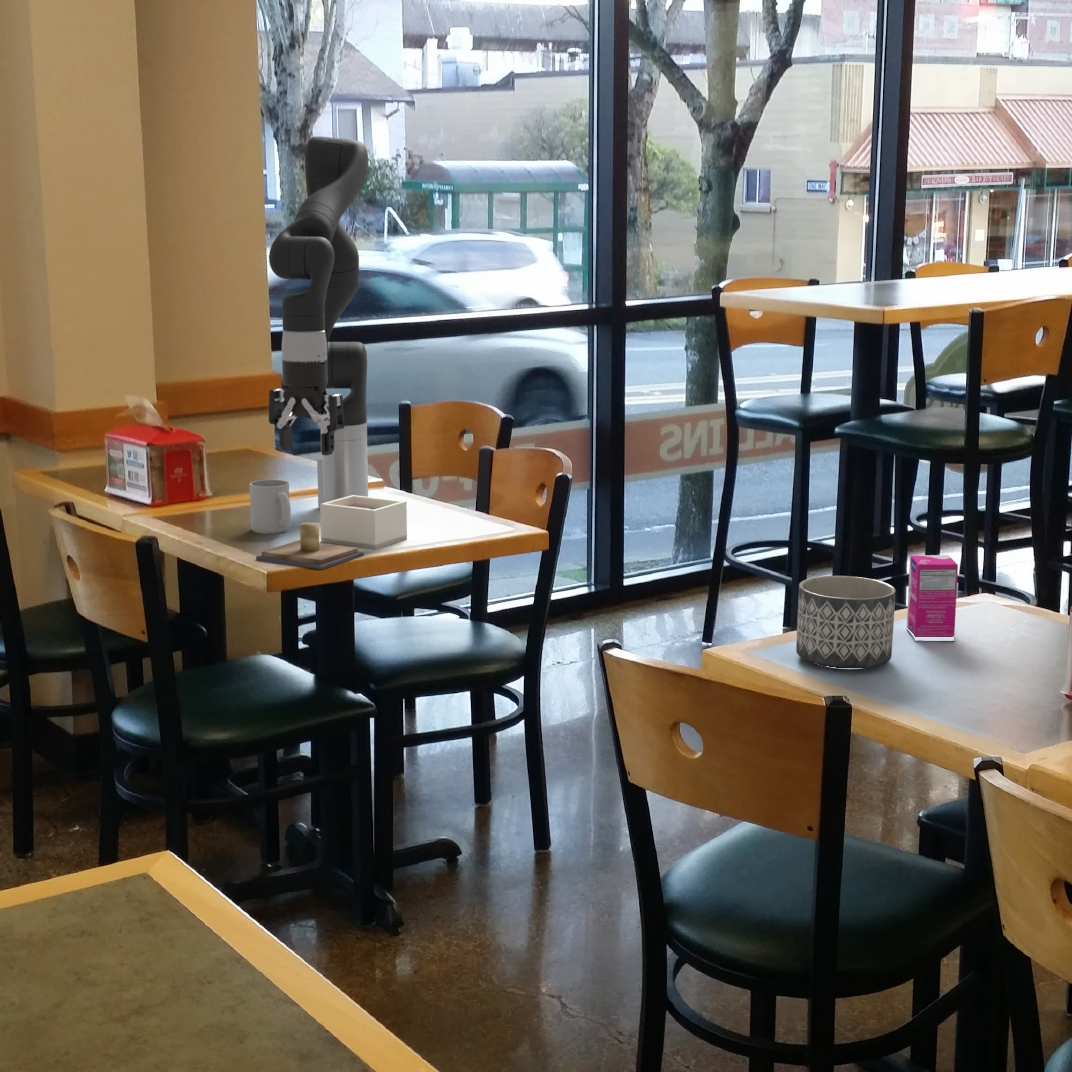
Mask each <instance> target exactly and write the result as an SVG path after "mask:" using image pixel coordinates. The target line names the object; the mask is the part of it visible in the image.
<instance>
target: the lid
mask: <svg viewBox="0 0 1072 1072" xmlns="http://www.w3.org/2000/svg"><path fill="white" fill-rule="evenodd" d="M319 526H320V525H319V523H317V522H314V521H313V522H312V521H311V522H310V521H309V522H308V521H307V522H302V523H300V524H299V534H300V536H299V538H300V539H299V540H296V541H291V542H289V543H286V544H283V545H278V546H275V547H272V548H268V549H265V550H262V551H261V555H262V556H265V557H272V558H279V559H286V560H292V561H299V562H306V563H313V564H319V565H321V564H325V563H328V562H331V561H334V560H337V559H340V558H343V557H346V556H349V555H352V554H355V553H358V552H359V550H358V549H359V547H354V546H347V545H340V544H333V543H326V542H320V527H319Z"/></svg>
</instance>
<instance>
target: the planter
mask: <svg viewBox="0 0 1072 1072" xmlns="http://www.w3.org/2000/svg"><path fill="white" fill-rule="evenodd" d="M895 602H896V588H895V586H894V585H891V584H890V583H887V582H884V581H881V580H877V579H875V578H874V579H873V578H867V577H859V576H852V575H851V576H850V575H825V576H824V575H823V576H816V577H810V578H807V579H804V580H802V581H800V582H799V584H798V601H797V603H798V604H797V623H796V647H795V648H796V650H795V651H796V654H797V655H798V656H799V658H801V659H802V660H805V661H807V662H810V663H812V664H815V665H818V664H819V665H818V666H820V665H823V666H829V667H836V668H866V669H869V668H875V667H880V666H883V665H885V664H887V663H888V662H890V661H891V659H892V656H893V654H892V653H893V640H894V639H893V636H894V624H895V623H894V622H895V607H896V604H895ZM823 666H822V667H823Z"/></svg>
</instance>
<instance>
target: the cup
mask: <svg viewBox="0 0 1072 1072" xmlns="http://www.w3.org/2000/svg"><path fill="white" fill-rule="evenodd" d="M249 502H250V503H249V505H250V509H249V510H250V511H249V512H250V528H251V530H252V532H254V533H256V534H262V535H264V534H265V535H269V534H270V535H272V534H273V535H275V534H283V533H286V532H288V531H289V530H290V528H291V521H290V520H291V514H292V513H291V511H292V510H291V501H290V482H289V481H286V480H284V479H283V480H282V479H281V480H280V479H261V480H255V481H251V482H250V483H249Z"/></svg>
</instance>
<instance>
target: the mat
mask: <svg viewBox="0 0 1072 1072" xmlns="http://www.w3.org/2000/svg"><path fill="white" fill-rule="evenodd" d="M364 556H365V554H364V552H363V551H358V553H355V554H352V555H349V556H346V557H343V558H340V559H337V560H334V561H331V562H328V563H325V564H321V565H319V564H313V563H306V562H299V561H292V560H286V559H279V558H272V557H265V556H262V554H259V555H256V556H255V558H256V559H255V560H256V561H262V562H268V563H274V564H282V565H288V564H291V566H294V565H297V566H296V567H301V568H308V569H309V568H310V569H315V570H325V569H328V568H331V567H334V566H337V565H341V564H343V563H345V562H348V561H351V560H352V561H353V560H355V559H358V558H361V557H364Z"/></svg>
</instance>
